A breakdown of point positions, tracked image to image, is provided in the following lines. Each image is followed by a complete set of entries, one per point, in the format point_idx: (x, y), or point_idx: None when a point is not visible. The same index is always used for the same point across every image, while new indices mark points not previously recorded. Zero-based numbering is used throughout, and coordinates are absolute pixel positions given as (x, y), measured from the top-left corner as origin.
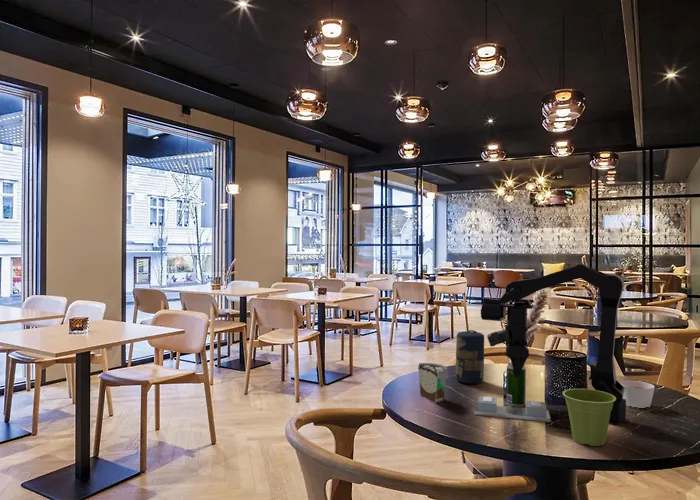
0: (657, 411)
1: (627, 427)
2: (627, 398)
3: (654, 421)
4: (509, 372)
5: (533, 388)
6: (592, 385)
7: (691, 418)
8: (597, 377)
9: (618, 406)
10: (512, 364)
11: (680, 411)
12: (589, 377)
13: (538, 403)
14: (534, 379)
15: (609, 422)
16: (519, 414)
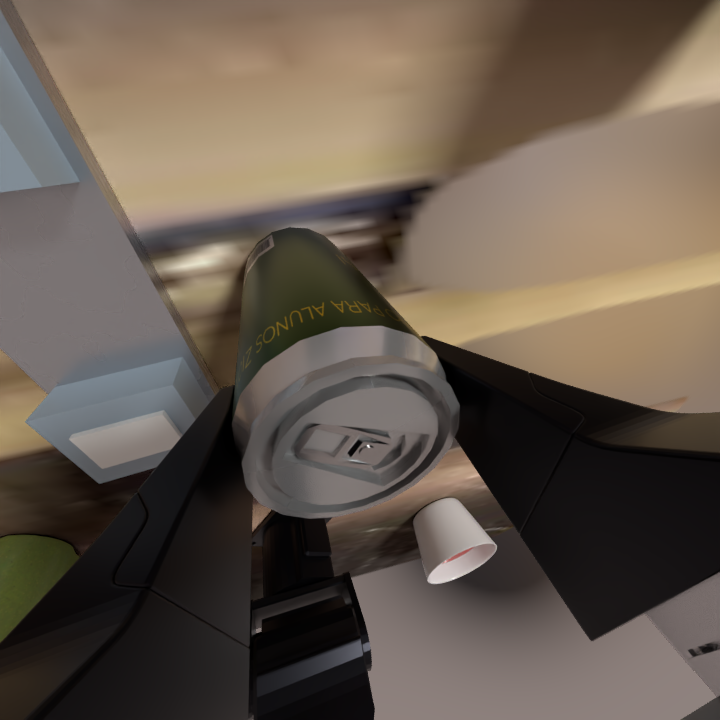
0: (406, 537)
1: (253, 551)
2: (428, 527)
3: (334, 554)
4: (248, 351)
5: (563, 299)
6: (253, 647)
7: (383, 567)
8: (253, 706)
9: (263, 595)
10: (104, 535)
11: (419, 550)
12: (257, 688)
13: (140, 450)
14: (674, 279)
15: (253, 534)
16: (30, 355)
